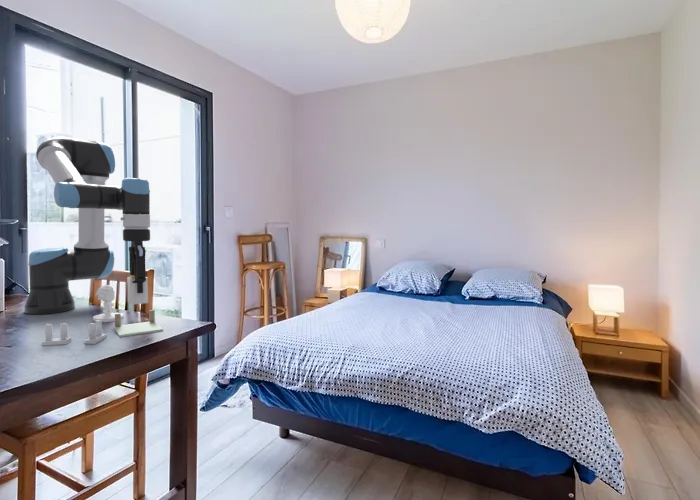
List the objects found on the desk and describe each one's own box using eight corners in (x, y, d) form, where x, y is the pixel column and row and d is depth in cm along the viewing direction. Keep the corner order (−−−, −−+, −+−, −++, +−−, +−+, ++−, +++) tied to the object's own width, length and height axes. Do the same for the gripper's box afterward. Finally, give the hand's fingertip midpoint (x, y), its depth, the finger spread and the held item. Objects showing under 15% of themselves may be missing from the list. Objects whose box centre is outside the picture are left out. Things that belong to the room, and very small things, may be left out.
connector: (127, 301, 125) (127, 275, 125) (145, 300, 128) (144, 274, 128) (130, 304, 121) (129, 277, 121) (148, 302, 124) (147, 276, 124)
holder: (114, 327, 127) (113, 313, 126) (154, 322, 134) (154, 309, 134) (119, 337, 117) (119, 321, 117) (162, 330, 124) (162, 316, 124)
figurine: (109, 323, 132) (108, 287, 131) (86, 321, 134) (85, 286, 133) (129, 316, 141) (128, 283, 140) (107, 314, 143) (107, 282, 142)
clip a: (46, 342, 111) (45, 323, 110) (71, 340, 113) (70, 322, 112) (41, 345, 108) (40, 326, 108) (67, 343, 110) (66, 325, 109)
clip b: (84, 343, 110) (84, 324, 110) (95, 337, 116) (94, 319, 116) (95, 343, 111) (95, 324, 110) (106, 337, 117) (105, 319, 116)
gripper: (118, 227, 128) (120, 298, 130) (127, 229, 114) (129, 308, 115) (144, 227, 133) (145, 295, 134) (156, 229, 118) (157, 305, 120)
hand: (137, 301), depth 125 cm, fingers closed on connector, 5 cm apart
